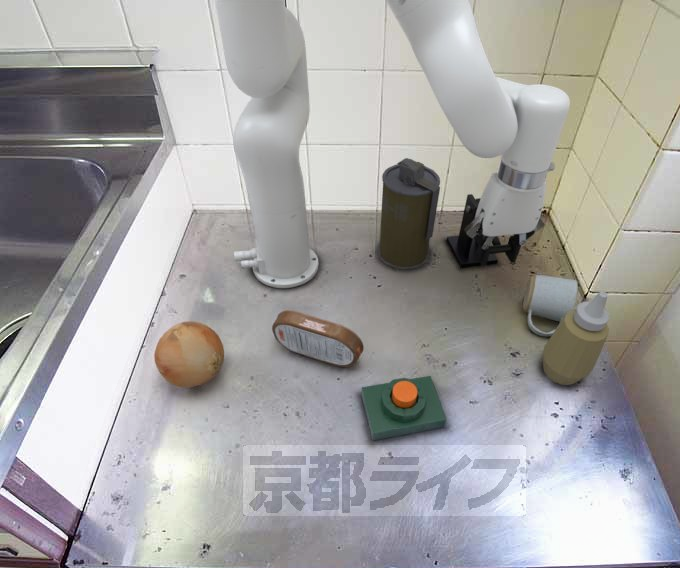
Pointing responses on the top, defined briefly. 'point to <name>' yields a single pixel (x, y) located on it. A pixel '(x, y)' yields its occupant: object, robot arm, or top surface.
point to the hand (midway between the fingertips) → (495, 258)
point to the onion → (189, 354)
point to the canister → (407, 213)
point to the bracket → (467, 239)
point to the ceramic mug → (549, 299)
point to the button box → (402, 409)
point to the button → (404, 394)
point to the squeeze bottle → (577, 342)
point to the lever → (498, 243)
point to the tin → (317, 338)
